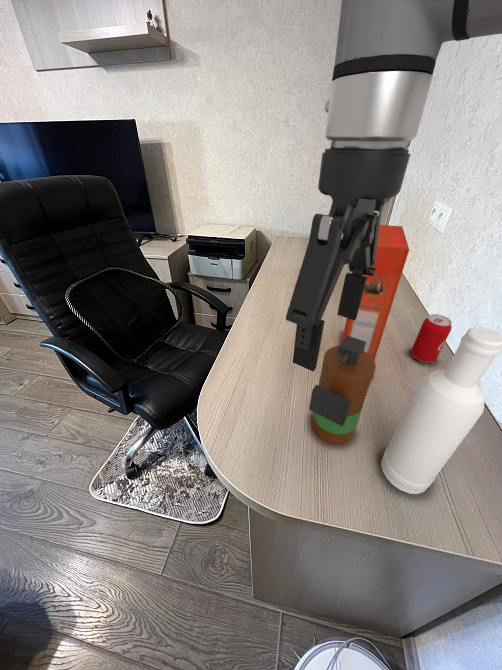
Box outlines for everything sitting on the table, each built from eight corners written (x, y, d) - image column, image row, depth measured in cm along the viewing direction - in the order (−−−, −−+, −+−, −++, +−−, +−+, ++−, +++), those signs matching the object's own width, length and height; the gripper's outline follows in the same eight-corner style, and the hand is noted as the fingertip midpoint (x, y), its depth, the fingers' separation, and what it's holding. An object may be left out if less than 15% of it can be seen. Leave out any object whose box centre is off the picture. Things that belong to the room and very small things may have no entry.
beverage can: (440, 359, 74) (459, 322, 68) (426, 367, 72) (445, 329, 65) (418, 347, 79) (434, 310, 72) (405, 354, 76) (420, 317, 69)
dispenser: (320, 404, 62) (338, 321, 49) (359, 422, 58) (389, 337, 45) (301, 434, 56) (315, 348, 43) (342, 457, 52) (372, 369, 39)
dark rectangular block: (312, 404, 49) (316, 384, 46) (345, 420, 46) (352, 400, 43) (308, 409, 48) (312, 389, 45) (342, 426, 45) (348, 406, 42)
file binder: (336, 368, 72) (365, 244, 53) (342, 333, 85) (367, 223, 66) (369, 376, 69) (411, 249, 51) (370, 338, 82) (404, 226, 64)
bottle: (401, 501, 45) (493, 362, 28) (371, 457, 52) (431, 322, 34) (440, 487, 47) (549, 348, 30) (406, 446, 53) (481, 312, 36)
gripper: (368, 143, 35) (337, 295, 47) (248, 147, 18) (249, 379, 31) (435, 144, 31) (383, 308, 43) (362, 149, 15) (311, 411, 27)
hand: (327, 338), depth 37 cm, fingers open, 13 cm apart
